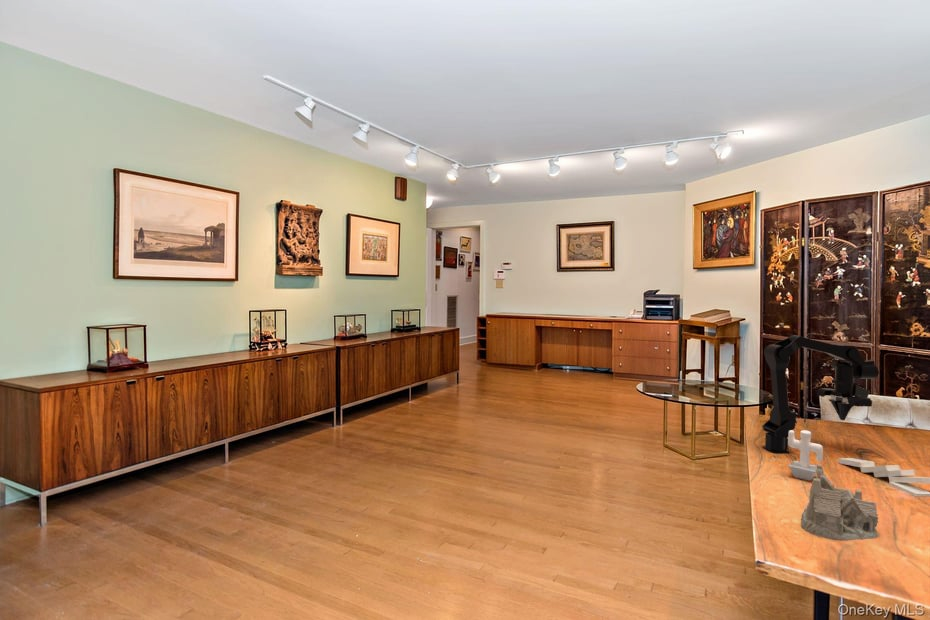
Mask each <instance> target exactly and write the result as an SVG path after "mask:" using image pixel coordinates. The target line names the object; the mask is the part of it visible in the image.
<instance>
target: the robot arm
mask: <svg viewBox="0 0 930 620" xmlns="http://www.w3.org/2000/svg"><path fill="white" fill-rule="evenodd" d="M801 348H804V349H808V350H811V351H812V350H813V351H816V352H821V353H825V354H827V355H829V356H830V357H833V358H835V359H834V360H832V361H831V362H830V363H829V364H828V365H829V366H832V367H835V371H834V373H835V374H834V379H832V380H831V383H833V384H834V388H831V387H830V388H829V387H827V388H825V387H824V388H822V387H821V388H819V389H818V390H817V396H818V397H823V398H824V397H826V396H829V397H830V398H829V399H828V401H829V402H830V403H831V405H832V406H833V408H834V410H835V412H836V414H837V416H838V418H839V420H840V421H845V420H846V418H847V417H848V414H849V413H850V411H851V409H852V408H853V407H873V400H872V399H871V398H870V397H869V395H870V392H871V390H868V389H865V388H863V387H861V386H859V384H858V381H857V382H856V381H855V379H859V380H861V379H862V380H864V379H865V380H868V379H869V380H875V379H877V378H878V376H879V374H880V370H879V368H878V367H877V365H876V363H875V360H872V359H871V360H870V359H867V360H865V359H864V358H863V357H862V355H861V354H860V351H859V348H858V347H857V346H854V345H852V344H851V345H849V344H843V343H830V342H829V343H828V342H824V341H820V340H817V339H816V340H815V339H812V338H807V337H803V336H802V335H797V334H796V335H795V334H792V335H790V336H789V337H787V338H784V339H782V340H778V341H777V342H775V343H773V344H771V343H770V344H768V345H767V346H766V347H765V348H764V350H763V354H764V357H765V361H766V363H767V365H768V367H769V369H770V379H771V392H772V393H771V394H772V402H773V403H772V405H773V406H772V408H771V410H770V411H769V419H768V420H767V421H766V422H765V423H764V424H762V427H761V428H763V431H764V432H765V442H764V443H765V445H763V446H761V447H762V449H764V450H767V451H768V452H771V453H773V454H787V453H788V454H790V452H791V451H789V450H788V449H789V447H788V446H789V444H788V433H789V431H790V430H793V431H794V430H795V429H796V426H797V425H796V424H798V421H797V412H795V411H794V410H791V409H790V406H789V396H788V395H789V394H788V381H787V368H788V365H789V363H790V359H791V358H790V357H791V356H792V355H794V354H796V353H797V352H798V350H799V349H801ZM841 360H842V361H841Z"/></svg>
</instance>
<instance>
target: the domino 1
mask: <svg viewBox="0 0 930 620" xmlns="http://www.w3.org/2000/svg"><path fill="white" fill-rule="evenodd" d="M837 460H838V464H841V465H848V466H852V467H858V468H862V467H875V466H876V465H875V462H874V461H871V460H865V459H860V458H859V459H858V458H852V457H846V458H845V457H841V458H838V459H837Z"/></svg>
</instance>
